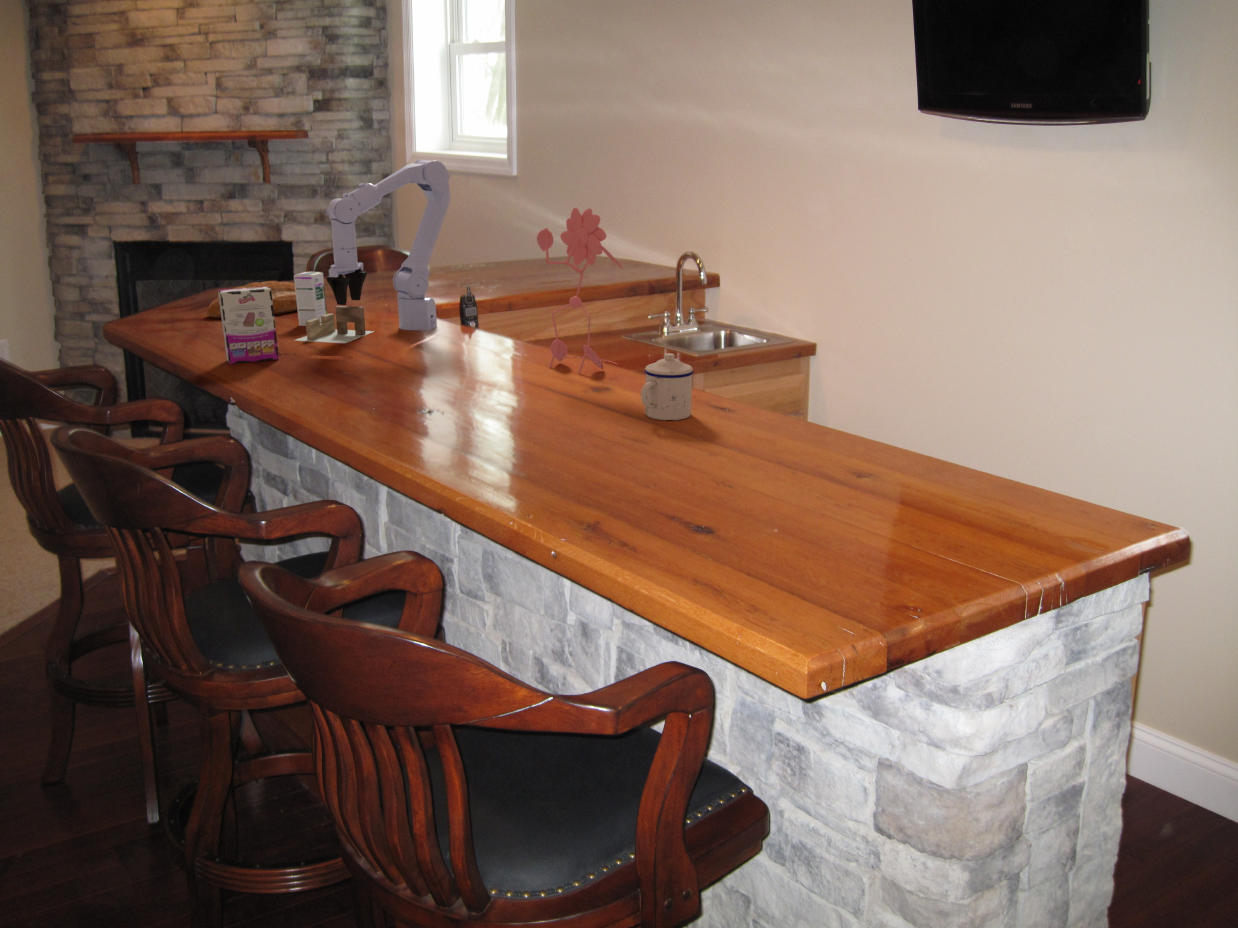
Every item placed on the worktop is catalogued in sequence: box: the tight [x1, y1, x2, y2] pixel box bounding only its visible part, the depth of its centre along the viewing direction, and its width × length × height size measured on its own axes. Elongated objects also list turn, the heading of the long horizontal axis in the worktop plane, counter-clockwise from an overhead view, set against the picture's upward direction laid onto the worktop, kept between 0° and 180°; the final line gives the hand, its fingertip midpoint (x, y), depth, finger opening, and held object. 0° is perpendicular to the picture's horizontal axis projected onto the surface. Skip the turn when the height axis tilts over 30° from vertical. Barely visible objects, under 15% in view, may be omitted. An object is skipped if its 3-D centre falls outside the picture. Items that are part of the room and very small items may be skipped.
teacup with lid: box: [640, 352, 694, 421], centre depth 188 cm, size 12×9×12 cm
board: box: [293, 328, 375, 344], centre depth 258 cm, size 14×16×1 cm
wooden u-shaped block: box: [305, 313, 336, 340], centre depth 258 cm, size 1×12×5 cm, turn 167°
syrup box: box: [293, 271, 328, 327], centre depth 272 cm, size 6×6×14 cm
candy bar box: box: [217, 287, 280, 365], centre depth 232 cm, size 11×5×16 cm, turn 118°
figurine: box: [536, 207, 624, 378], centre depth 226 cm, size 15×26×35 cm, turn 49°
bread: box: [206, 280, 298, 319], centre depth 296 cm, size 18×35×9 cm, turn 140°
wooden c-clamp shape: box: [334, 305, 367, 336], centre depth 259 cm, size 7×2×7 cm, turn 77°
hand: (348, 302), depth 258 cm, fingers open, 7 cm apart
